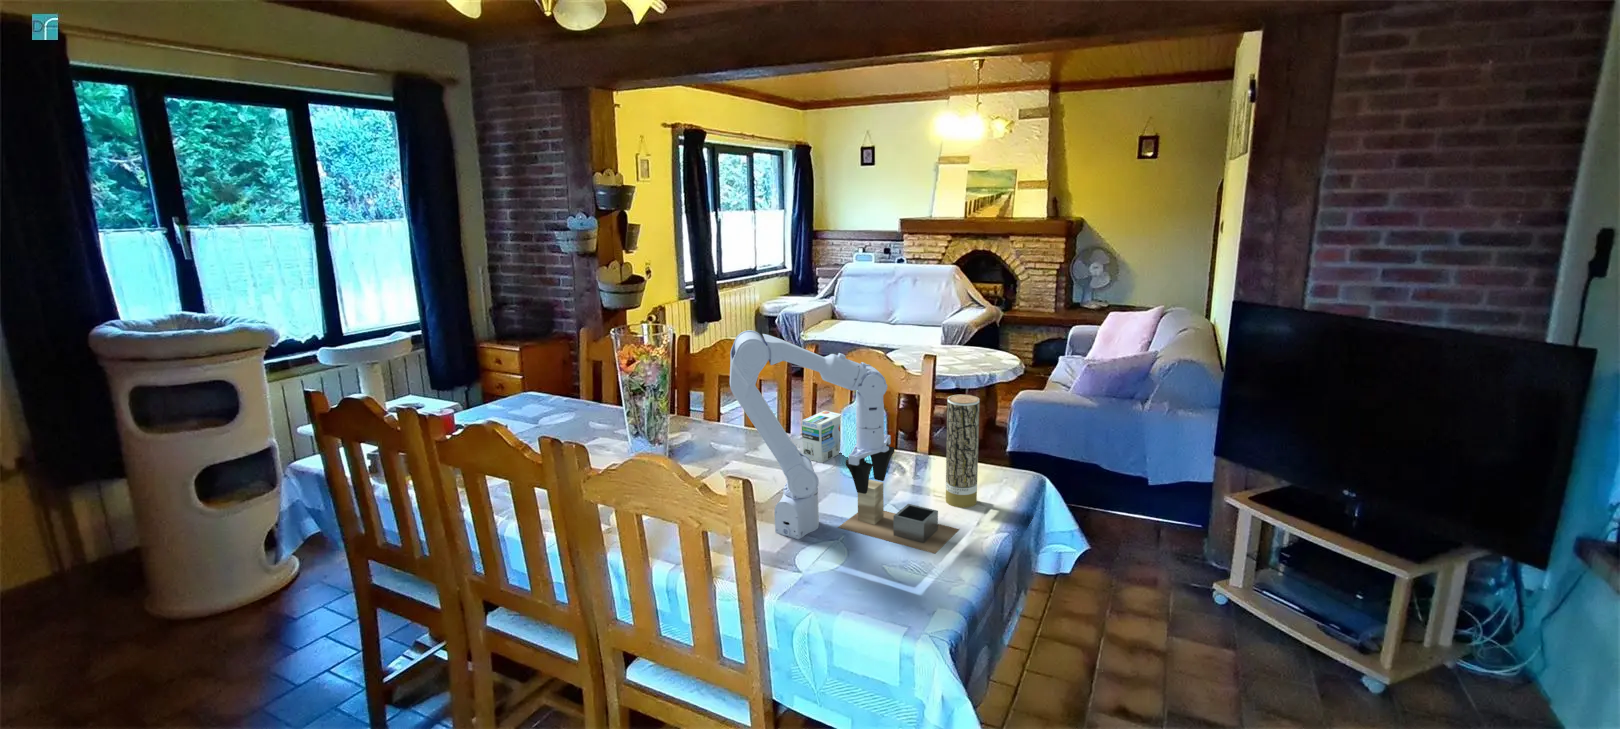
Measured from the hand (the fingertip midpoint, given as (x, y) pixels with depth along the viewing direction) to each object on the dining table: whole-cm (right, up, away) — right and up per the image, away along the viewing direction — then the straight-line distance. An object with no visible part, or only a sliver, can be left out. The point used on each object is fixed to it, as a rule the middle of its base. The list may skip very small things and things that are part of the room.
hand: (870, 486), depth 157 cm
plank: (+5, -9, -2) cm, 11 cm away
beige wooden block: (0, -7, +2) cm, 8 cm away
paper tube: (+21, -6, +10) cm, 24 cm away
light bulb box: (-9, +1, +43) cm, 44 cm away
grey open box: (+9, -9, -5) cm, 13 cm away
